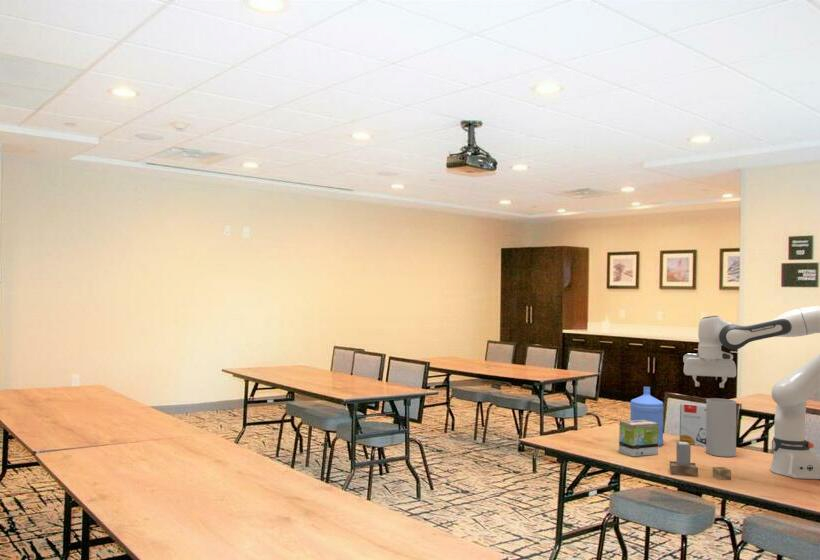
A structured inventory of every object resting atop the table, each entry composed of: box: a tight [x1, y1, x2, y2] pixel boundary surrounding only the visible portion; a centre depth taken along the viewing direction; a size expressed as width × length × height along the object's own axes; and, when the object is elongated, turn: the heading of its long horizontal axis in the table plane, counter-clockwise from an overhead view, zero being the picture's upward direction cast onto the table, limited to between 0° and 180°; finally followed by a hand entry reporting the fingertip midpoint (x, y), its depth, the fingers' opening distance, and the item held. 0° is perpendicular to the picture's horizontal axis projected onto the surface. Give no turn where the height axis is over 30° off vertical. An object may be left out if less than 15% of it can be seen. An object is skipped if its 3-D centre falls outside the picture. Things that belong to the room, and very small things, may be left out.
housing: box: [675, 441, 692, 467], centre depth 269 cm, size 4×4×10 cm
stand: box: [669, 460, 699, 478], centre depth 269 cm, size 10×8×4 cm
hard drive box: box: [679, 401, 706, 448], centre depth 324 cm, size 16×8×20 cm, turn 62°
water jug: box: [629, 386, 664, 447], centre depth 324 cm, size 16×16×28 cm
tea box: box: [618, 420, 659, 457], centre depth 302 cm, size 15×10×15 cm
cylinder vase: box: [705, 397, 737, 458], centre depth 303 cm, size 12×12×25 cm
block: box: [712, 466, 732, 481], centre depth 262 cm, size 5×5×4 cm
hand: (709, 386), depth 274 cm, fingers open, 8 cm apart
